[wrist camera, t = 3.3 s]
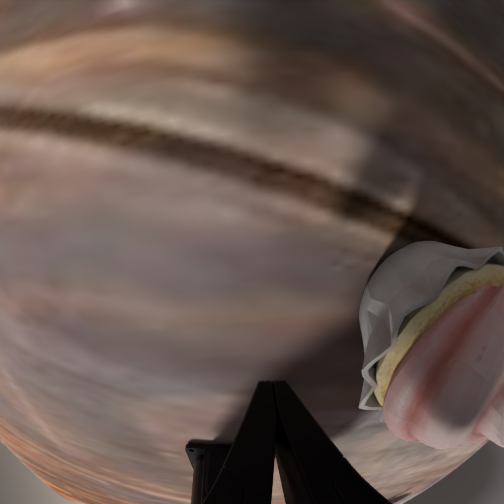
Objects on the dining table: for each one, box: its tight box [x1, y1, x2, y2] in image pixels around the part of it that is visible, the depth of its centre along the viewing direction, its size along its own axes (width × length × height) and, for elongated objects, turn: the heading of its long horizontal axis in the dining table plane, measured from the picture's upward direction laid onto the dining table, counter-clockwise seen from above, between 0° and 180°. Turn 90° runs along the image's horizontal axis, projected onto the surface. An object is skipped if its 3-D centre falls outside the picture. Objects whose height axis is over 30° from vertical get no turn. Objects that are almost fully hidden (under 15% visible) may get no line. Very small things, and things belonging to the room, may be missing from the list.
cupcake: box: [359, 241, 504, 449], centre depth 8 cm, size 9×9×10 cm
